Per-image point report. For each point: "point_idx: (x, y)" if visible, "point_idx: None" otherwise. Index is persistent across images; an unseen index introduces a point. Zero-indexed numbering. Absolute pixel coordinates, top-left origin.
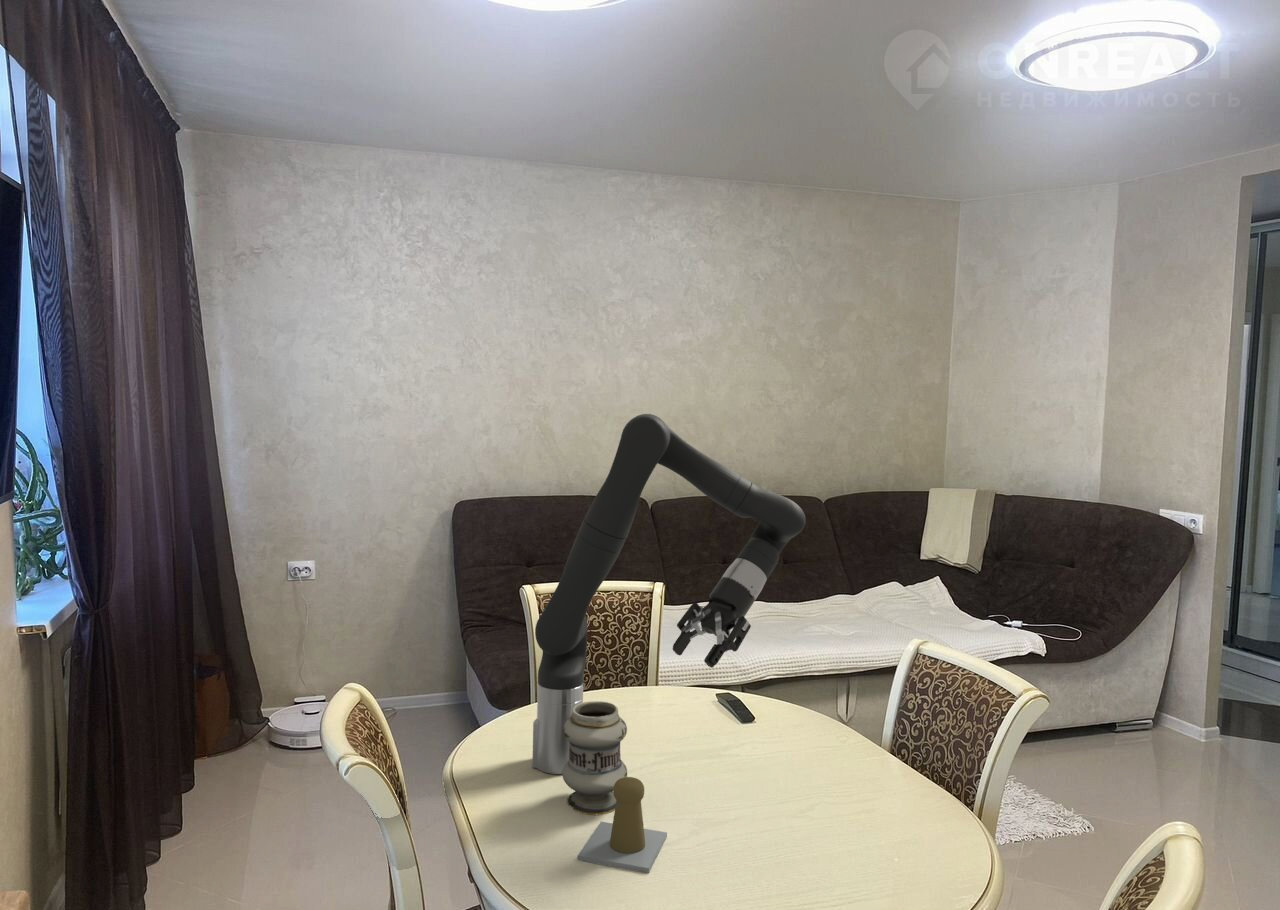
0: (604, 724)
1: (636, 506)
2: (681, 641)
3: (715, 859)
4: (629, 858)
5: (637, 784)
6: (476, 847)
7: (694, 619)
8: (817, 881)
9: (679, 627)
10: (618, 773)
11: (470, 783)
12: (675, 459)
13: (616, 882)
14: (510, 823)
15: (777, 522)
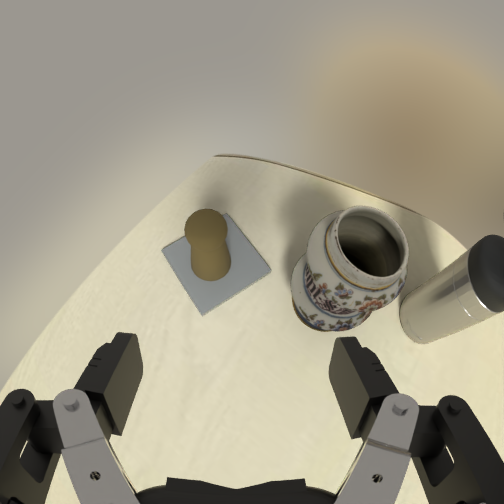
0: (328, 235)
1: None
2: (351, 374)
3: (132, 323)
4: (188, 246)
5: (190, 226)
6: (300, 169)
7: (393, 470)
8: (48, 365)
9: (438, 403)
10: (300, 293)
11: (413, 222)
12: None
13: (173, 221)
14: (325, 207)
15: None
